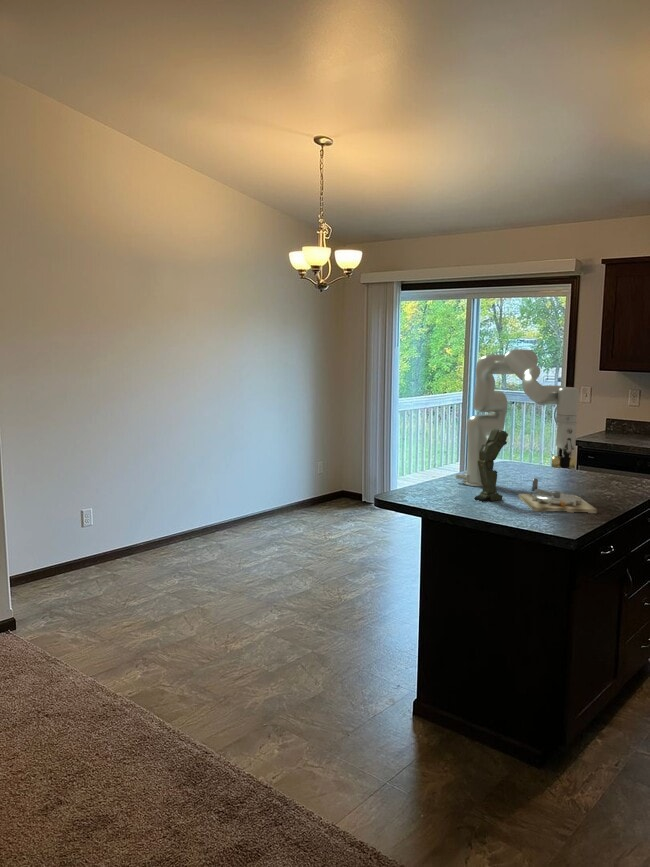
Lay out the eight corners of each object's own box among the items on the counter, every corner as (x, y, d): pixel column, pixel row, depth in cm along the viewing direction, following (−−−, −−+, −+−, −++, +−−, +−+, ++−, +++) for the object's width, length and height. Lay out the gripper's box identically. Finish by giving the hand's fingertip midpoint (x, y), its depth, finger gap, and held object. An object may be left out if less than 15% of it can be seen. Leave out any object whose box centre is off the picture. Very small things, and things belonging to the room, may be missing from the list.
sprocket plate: (533, 511, 260) (533, 506, 260) (518, 497, 284) (518, 493, 284) (596, 513, 259) (597, 508, 259) (576, 499, 283) (577, 495, 283)
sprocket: (574, 508, 258) (576, 491, 257) (520, 500, 270) (521, 484, 269) (586, 499, 274) (588, 483, 273) (534, 492, 286) (535, 477, 285)
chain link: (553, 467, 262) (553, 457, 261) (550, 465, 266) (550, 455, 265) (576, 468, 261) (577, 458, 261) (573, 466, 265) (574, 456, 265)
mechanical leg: (476, 501, 271) (494, 427, 270) (465, 497, 277) (482, 425, 277) (502, 506, 277) (519, 434, 277) (490, 502, 284) (507, 432, 283)
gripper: (583, 422, 253) (579, 470, 255) (569, 417, 269) (566, 463, 271) (562, 421, 253) (559, 470, 255) (550, 417, 269) (547, 462, 272)
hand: (563, 466), depth 263 cm, fingers closed on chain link, 3 cm apart
